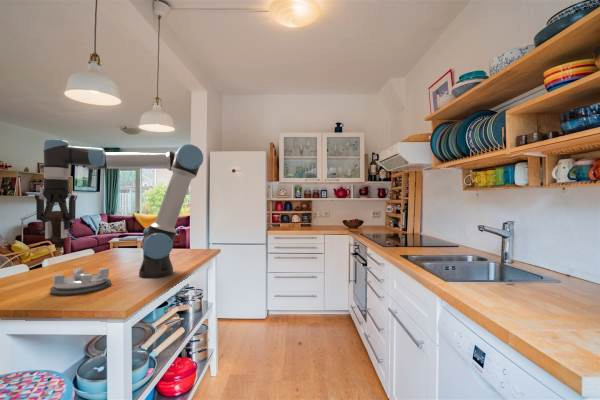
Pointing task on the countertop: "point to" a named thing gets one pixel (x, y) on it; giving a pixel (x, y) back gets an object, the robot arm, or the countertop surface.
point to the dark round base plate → (81, 291)
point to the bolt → (56, 227)
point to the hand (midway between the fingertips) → (56, 237)
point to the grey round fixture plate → (80, 280)
